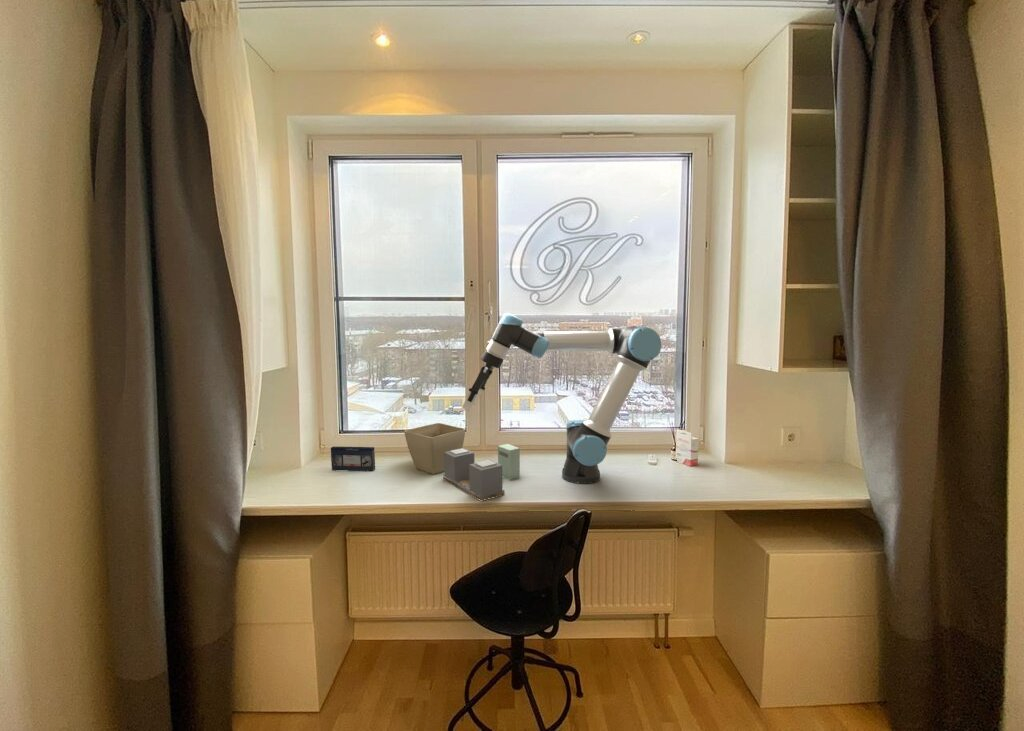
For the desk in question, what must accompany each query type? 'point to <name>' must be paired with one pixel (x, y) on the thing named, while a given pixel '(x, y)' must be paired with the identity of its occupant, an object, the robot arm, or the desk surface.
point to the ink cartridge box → (686, 448)
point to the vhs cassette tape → (353, 458)
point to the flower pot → (433, 445)
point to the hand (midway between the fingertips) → (468, 406)
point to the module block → (509, 461)
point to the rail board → (465, 487)
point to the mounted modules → (474, 472)
